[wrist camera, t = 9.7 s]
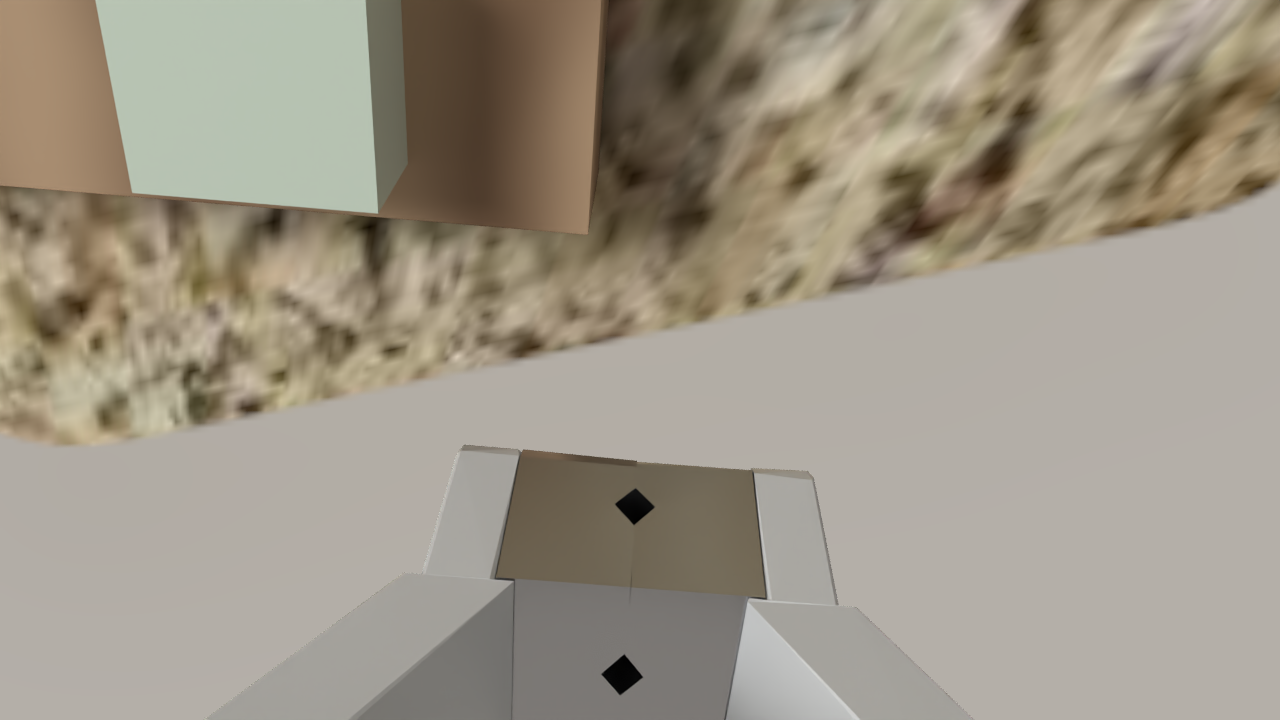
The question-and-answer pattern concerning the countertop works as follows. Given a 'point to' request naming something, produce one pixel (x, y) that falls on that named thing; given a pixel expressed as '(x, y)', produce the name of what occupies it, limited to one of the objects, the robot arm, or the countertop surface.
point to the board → (434, 100)
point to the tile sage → (260, 99)
